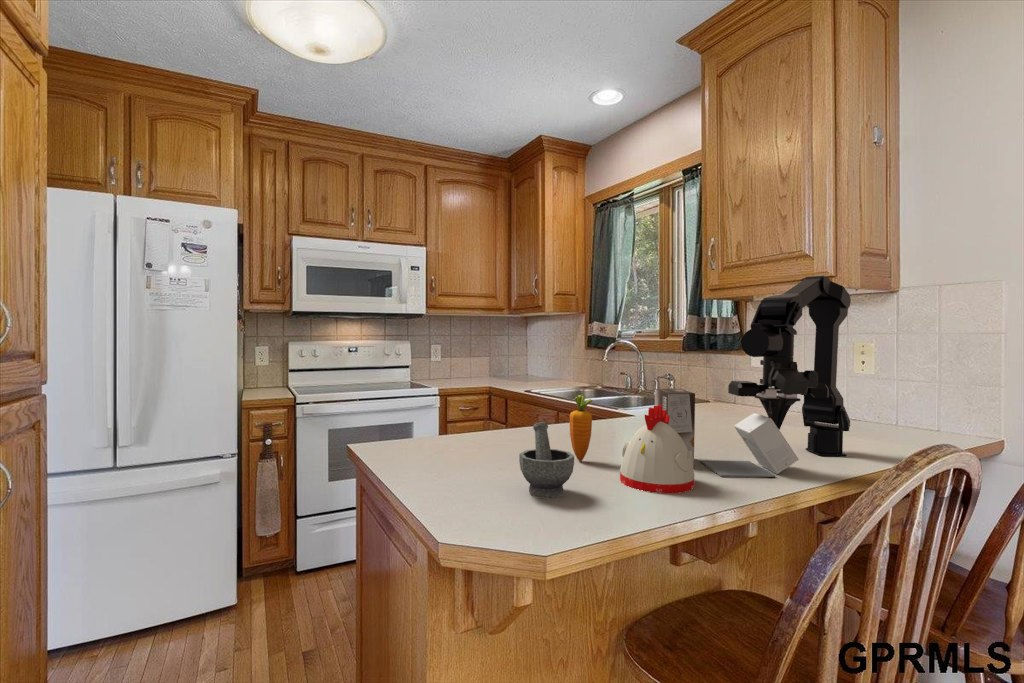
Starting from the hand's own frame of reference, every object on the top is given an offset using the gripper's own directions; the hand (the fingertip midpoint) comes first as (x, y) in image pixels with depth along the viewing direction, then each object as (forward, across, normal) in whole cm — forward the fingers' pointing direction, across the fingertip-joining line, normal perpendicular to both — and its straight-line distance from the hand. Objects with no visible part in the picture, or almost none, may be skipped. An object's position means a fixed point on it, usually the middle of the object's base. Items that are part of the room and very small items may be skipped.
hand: (776, 429), depth 111 cm
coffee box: (+9, -20, +6) cm, 23 cm away
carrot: (+9, -41, +5) cm, 42 cm away
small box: (+7, +1, 0) cm, 7 cm away
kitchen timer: (+9, -28, -10) cm, 31 cm away
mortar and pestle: (+9, -50, -17) cm, 53 cm away
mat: (+9, -8, 0) cm, 12 cm away
